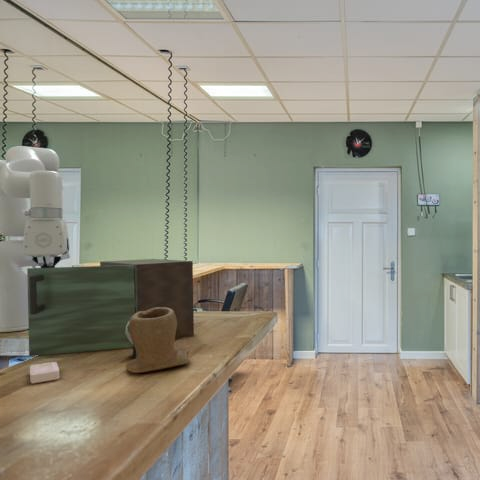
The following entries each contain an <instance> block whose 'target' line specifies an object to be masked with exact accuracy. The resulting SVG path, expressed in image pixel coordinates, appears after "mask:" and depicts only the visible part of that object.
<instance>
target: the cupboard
mask: <svg viewBox="0 0 480 480" xmlns="http://www.w3.org/2000/svg"><path fill="white" fill-rule="evenodd" d="M119 265H134V279H135V313H137V312H139V311H147V310H149V309H152V308H156V307H167V308H170V309H172V310H173V311H174V313H175V315H176V319H177V328H176V334H175V340H179V339H184V338H189V337H194V336H195V319H194V318H195V316H194V314H195V313H194V266H193V265H194V263H193V260H182V259H181V260H180V259H179V260H177V259H162V258H147V259H126V260H105V261H104V260H103V261H100V262H99V266H119Z"/></svg>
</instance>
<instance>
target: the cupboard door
mask: <svg viewBox="0 0 480 480" xmlns="http://www.w3.org/2000/svg"><path fill="white" fill-rule="evenodd" d="M26 274H27V280H28V324H29V329H28V356H29V357H34V356H46V355H47V356H48V355H59V354H70V353H71V354H72V353H82V352H96V351H107V350H120V349H131V348H132V349H133V344H132V343H131V342H130V341H129V339H128V338H127V336H126V333H125V331H126V325H127V323H128V322H129V321H130V318H131V317H132V316H133V315H134V314H135V279H134V265H119V266H100V265H92V266H91V265H90V266H59V267H56V266H55V267H53V268H41V267H29V268H27V269H26ZM127 328H128V331H129V334H130V324H129V325H128V327H127Z"/></svg>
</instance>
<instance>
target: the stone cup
mask: <svg viewBox="0 0 480 480" xmlns="http://www.w3.org/2000/svg"><path fill="white" fill-rule="evenodd" d="M176 328H177V319H176V315H175V313H174V311H173V310H172V309H170V308H167V307H156V308H152V309H149V310H147V311H139V312H137V313H135V314H134V315H133V316H132V317H131V318H130V336H131V339H132V342H133V344H134V347H135V349H136V356H137V357H136V359H133V358H132V359H130V360H129V361H127V362H126V364H125V366H124V367H125V370H126V371H128V372H130V373H134V374H140V373H148V372H155V371H160V370H165V369H170V368H175V367H180V366H184V365H188V364H189V353H190V349H189V348H182V349H175V340H176V339H175V334H176Z"/></svg>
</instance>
